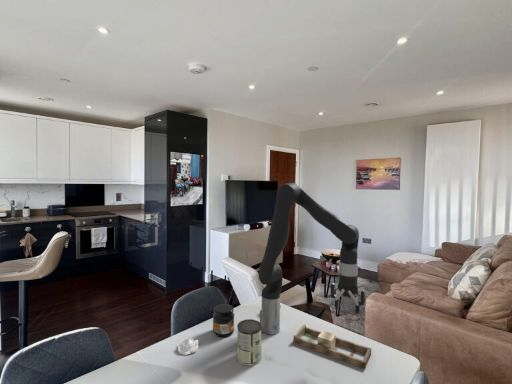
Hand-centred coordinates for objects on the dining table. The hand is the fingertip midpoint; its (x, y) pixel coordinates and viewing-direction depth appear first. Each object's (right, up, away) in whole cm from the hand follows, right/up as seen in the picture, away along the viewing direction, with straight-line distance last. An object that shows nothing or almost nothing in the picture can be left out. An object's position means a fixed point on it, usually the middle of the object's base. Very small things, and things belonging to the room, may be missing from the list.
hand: (347, 310), depth 117 cm
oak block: (-7, -18, +5) cm, 20 cm away
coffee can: (-42, -20, -1) cm, 46 cm away
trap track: (-6, -20, +4) cm, 21 cm away
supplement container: (-55, -19, +19) cm, 61 cm away
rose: (-69, -20, +5) cm, 72 cm away
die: (-29, -18, +39) cm, 52 cm away
